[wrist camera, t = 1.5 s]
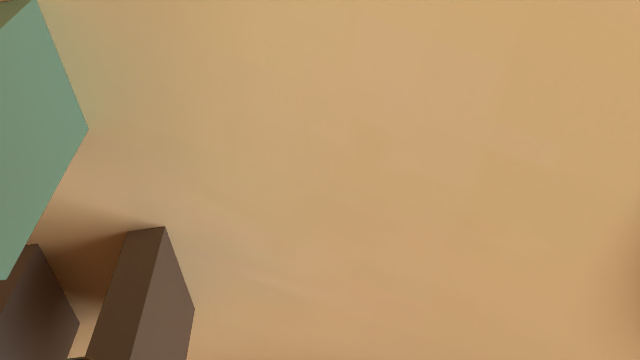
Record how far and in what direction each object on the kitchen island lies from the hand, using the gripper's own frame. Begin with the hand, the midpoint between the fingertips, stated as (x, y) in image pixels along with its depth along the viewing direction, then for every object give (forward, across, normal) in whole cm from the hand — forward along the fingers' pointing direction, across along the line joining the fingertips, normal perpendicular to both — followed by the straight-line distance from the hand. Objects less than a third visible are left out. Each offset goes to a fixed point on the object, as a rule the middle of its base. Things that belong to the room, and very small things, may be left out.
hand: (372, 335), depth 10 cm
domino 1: (+14, +10, 0) cm, 17 cm away
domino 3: (+13, +8, +10) cm, 19 cm away
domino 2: (+13, +14, +10) cm, 22 cm away
